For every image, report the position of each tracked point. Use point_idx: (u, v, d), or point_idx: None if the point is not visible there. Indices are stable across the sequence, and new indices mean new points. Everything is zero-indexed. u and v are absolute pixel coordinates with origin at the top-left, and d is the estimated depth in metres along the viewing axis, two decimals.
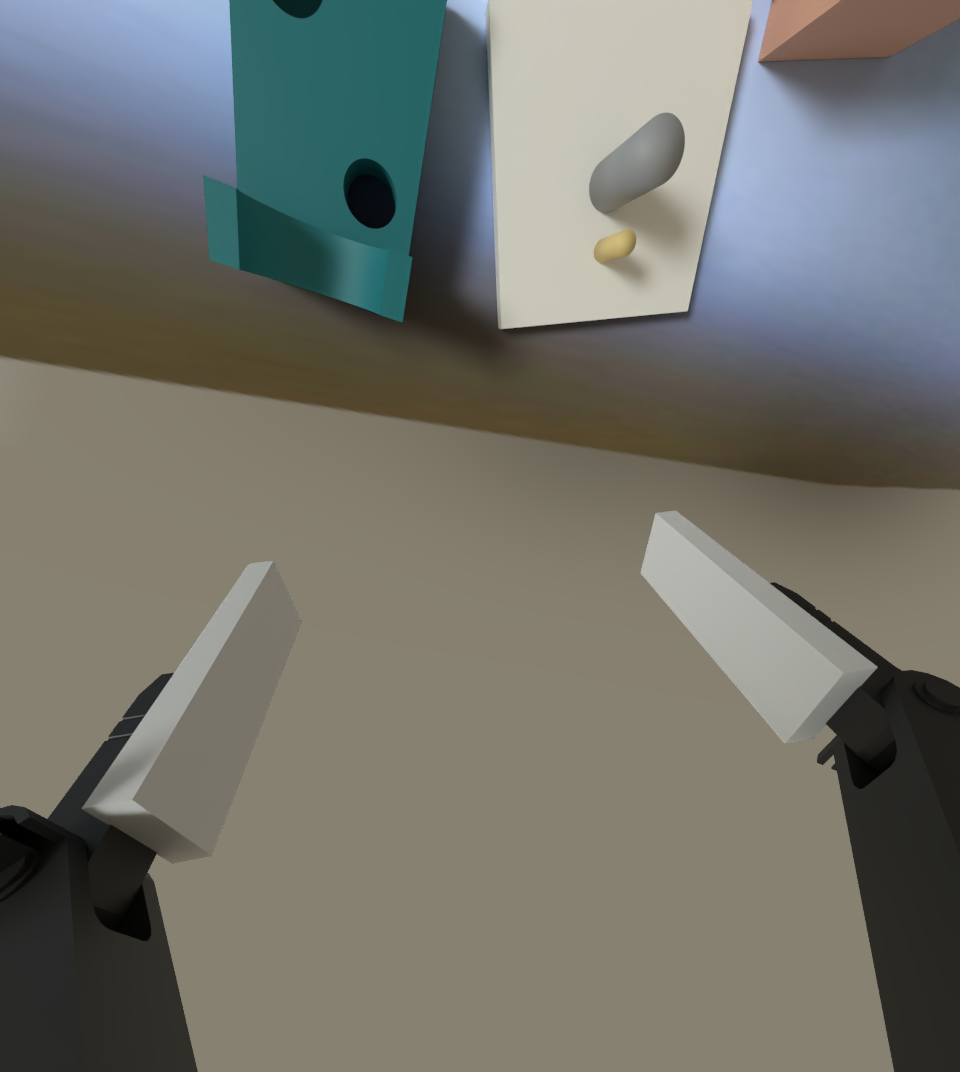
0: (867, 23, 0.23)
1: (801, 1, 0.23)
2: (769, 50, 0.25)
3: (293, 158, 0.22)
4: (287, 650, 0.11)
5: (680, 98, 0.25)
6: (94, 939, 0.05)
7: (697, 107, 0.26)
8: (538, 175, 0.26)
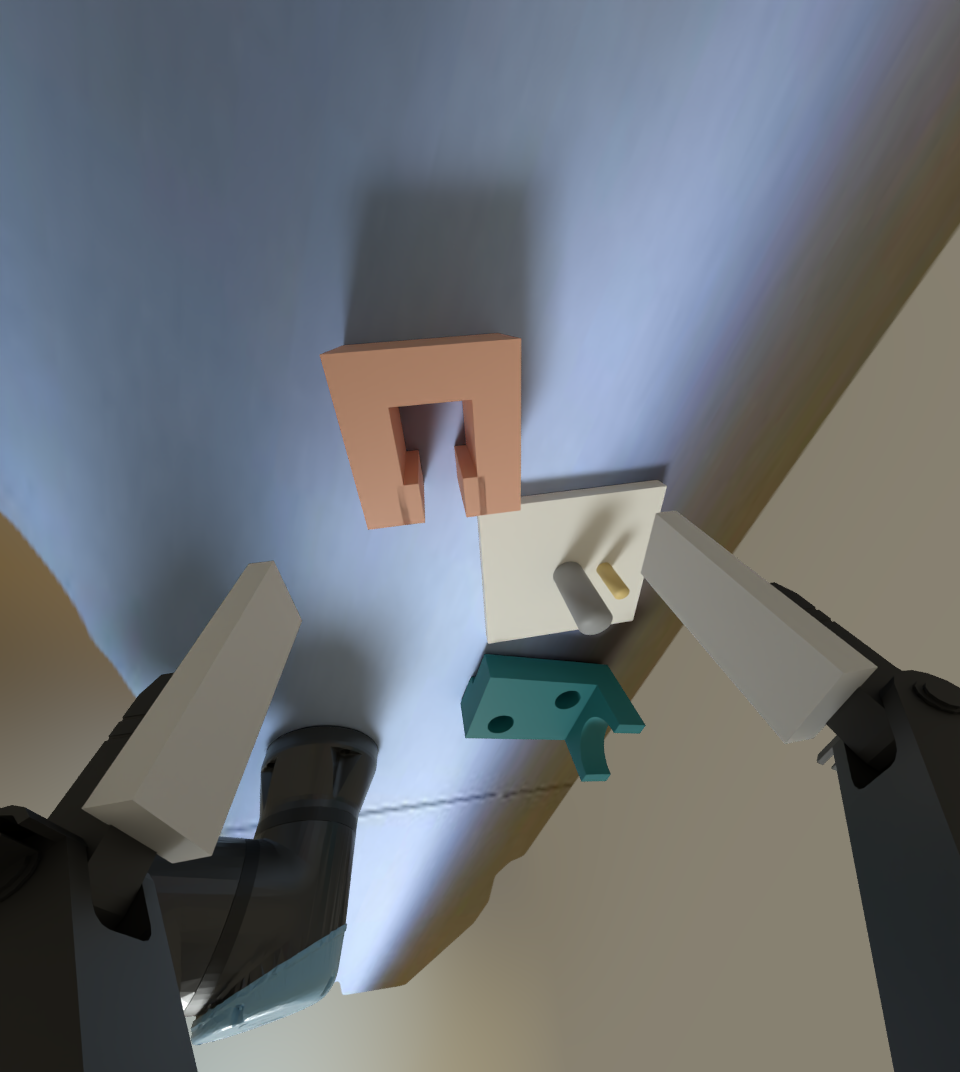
0: None
1: None
2: None
3: (553, 724, 0.46)
4: (287, 650, 0.11)
5: (527, 540, 0.34)
6: (94, 939, 0.05)
7: (533, 527, 0.33)
8: (557, 613, 0.40)
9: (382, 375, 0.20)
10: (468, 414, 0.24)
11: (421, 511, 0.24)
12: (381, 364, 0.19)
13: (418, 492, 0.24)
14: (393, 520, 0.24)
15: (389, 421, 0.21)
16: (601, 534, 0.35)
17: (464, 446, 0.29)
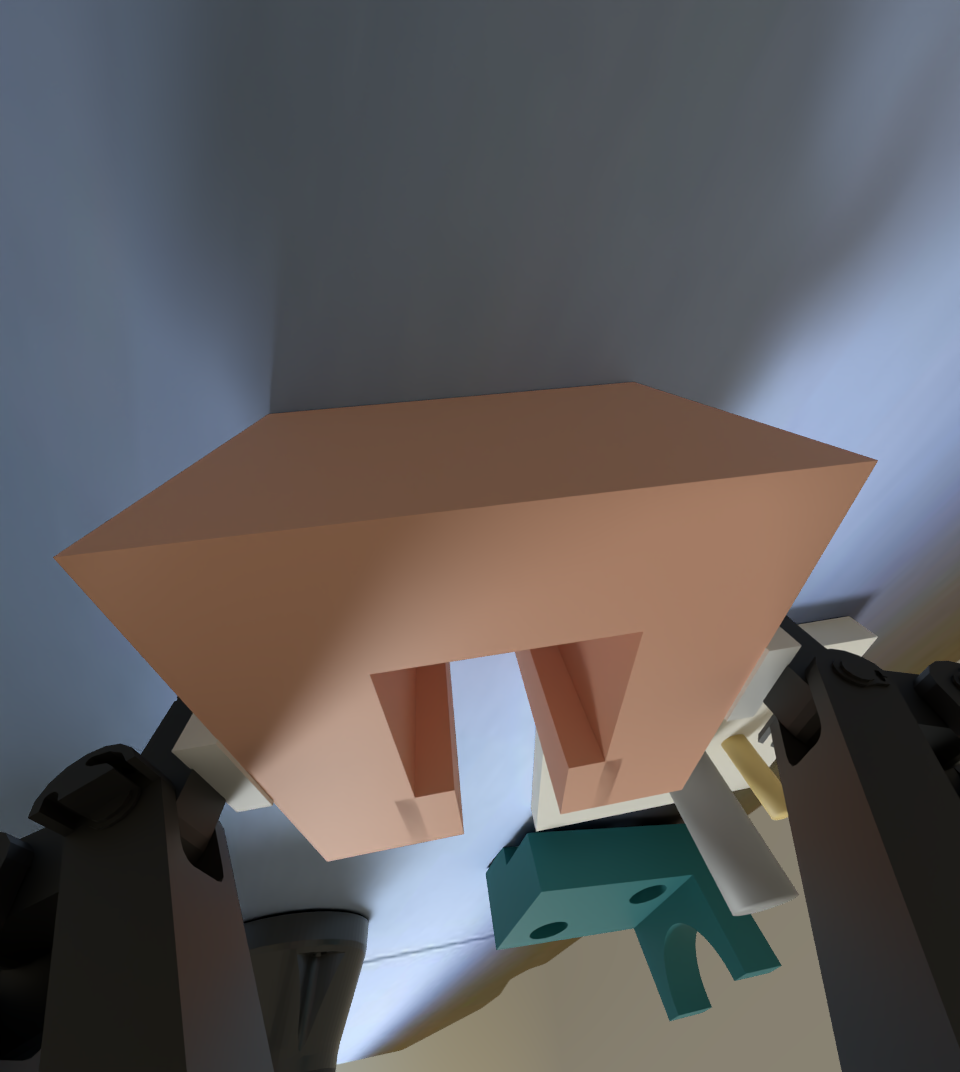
0: None
1: None
2: None
3: (622, 918, 0.32)
4: None
5: None
6: (183, 872, 0.05)
7: None
8: None
9: (345, 600, 0.05)
10: None
11: (457, 823, 0.10)
12: (339, 569, 0.05)
13: (453, 801, 0.09)
14: (388, 842, 0.10)
15: (375, 701, 0.06)
16: None
17: None
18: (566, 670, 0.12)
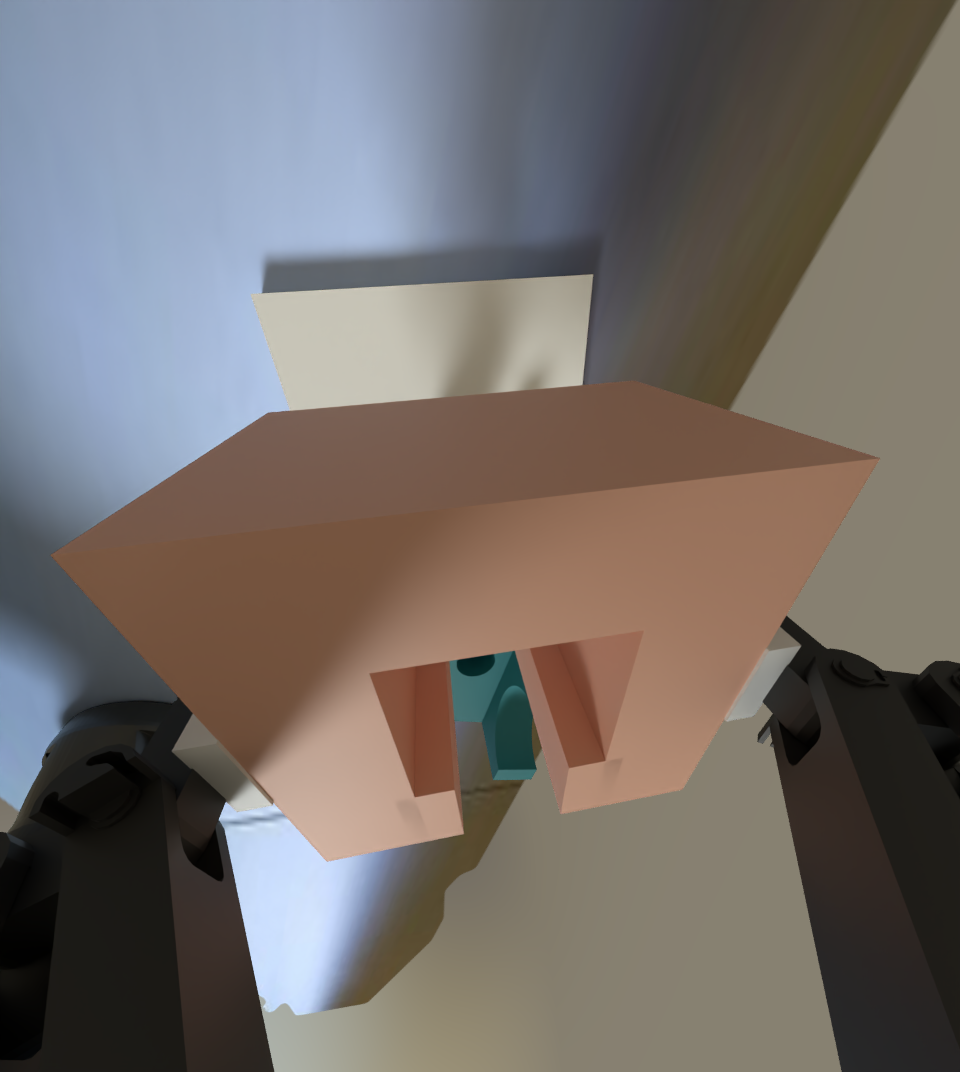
0: None
1: None
2: None
3: (460, 698, 0.32)
4: None
5: (363, 375, 0.20)
6: (183, 872, 0.05)
7: (366, 346, 0.19)
8: None
9: (344, 598, 0.05)
10: None
11: (457, 823, 0.10)
12: (338, 568, 0.05)
13: (453, 801, 0.09)
14: (388, 842, 0.10)
15: (374, 701, 0.06)
16: (492, 373, 0.21)
17: None
18: (566, 670, 0.12)
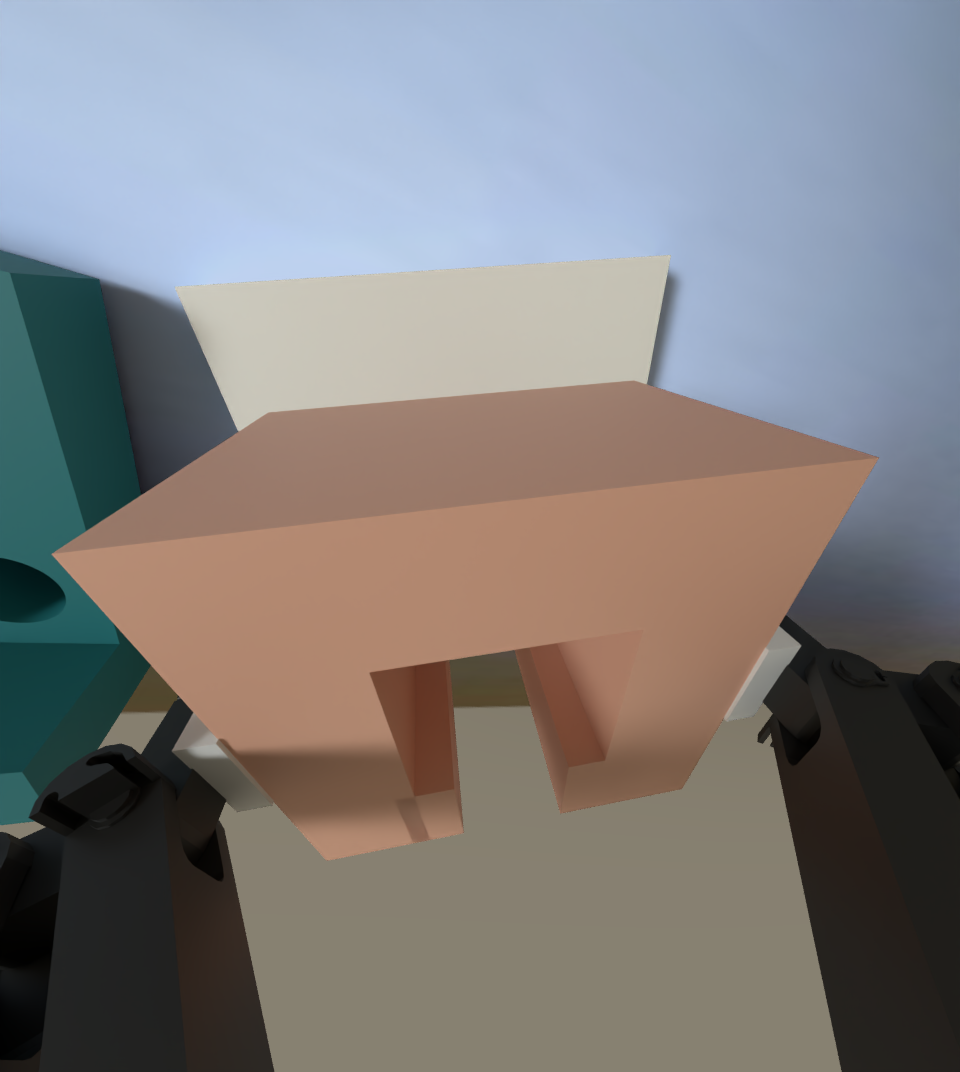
0: None
1: None
2: None
3: None
4: None
5: None
6: (183, 872, 0.05)
7: None
8: None
9: (344, 597, 0.05)
10: None
11: (457, 822, 0.10)
12: (338, 567, 0.05)
13: (453, 800, 0.09)
14: (388, 841, 0.10)
15: (374, 700, 0.06)
16: None
17: None
18: (566, 669, 0.12)
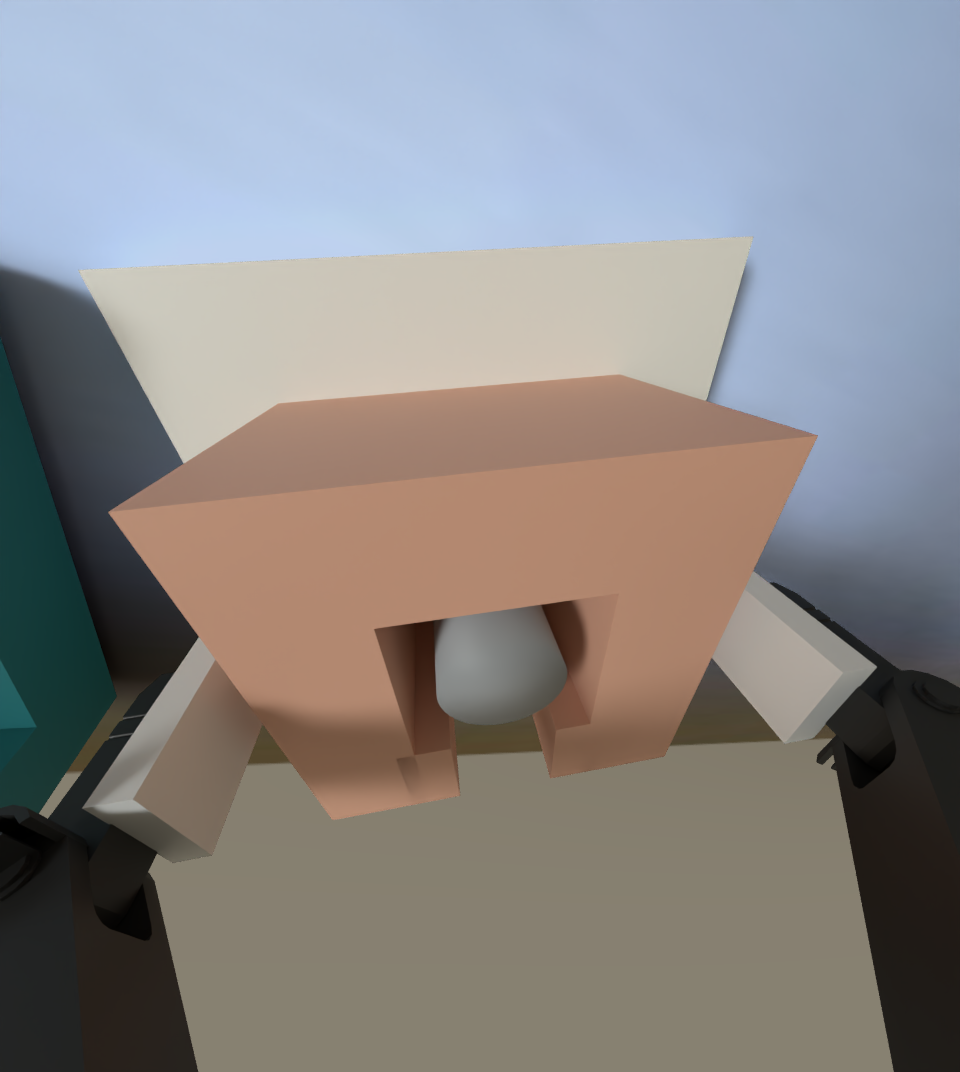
0: None
1: None
2: None
3: None
4: None
5: None
6: (95, 938, 0.05)
7: None
8: None
9: (353, 557, 0.06)
10: None
11: (454, 784, 0.11)
12: (348, 528, 0.06)
13: (449, 760, 0.10)
14: (390, 802, 0.11)
15: (378, 656, 0.07)
16: None
17: None
18: None
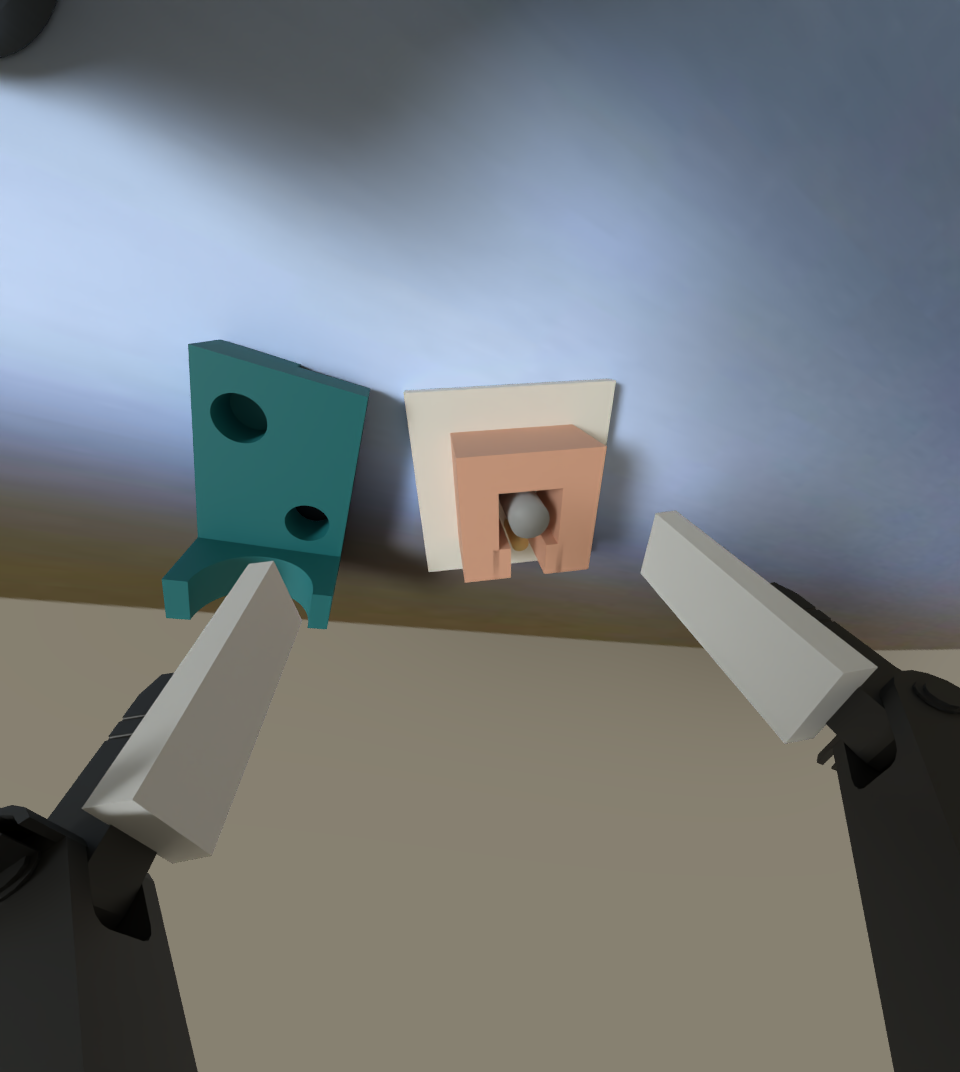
0: None
1: None
2: None
3: (243, 511, 0.28)
4: (287, 650, 0.11)
5: None
6: (94, 939, 0.05)
7: None
8: (452, 484, 0.33)
9: (498, 471, 0.25)
10: (550, 491, 0.30)
11: (509, 569, 0.30)
12: (499, 464, 0.25)
13: (509, 555, 0.29)
14: (486, 575, 0.30)
15: (497, 503, 0.26)
16: None
17: None
18: (547, 527, 0.31)
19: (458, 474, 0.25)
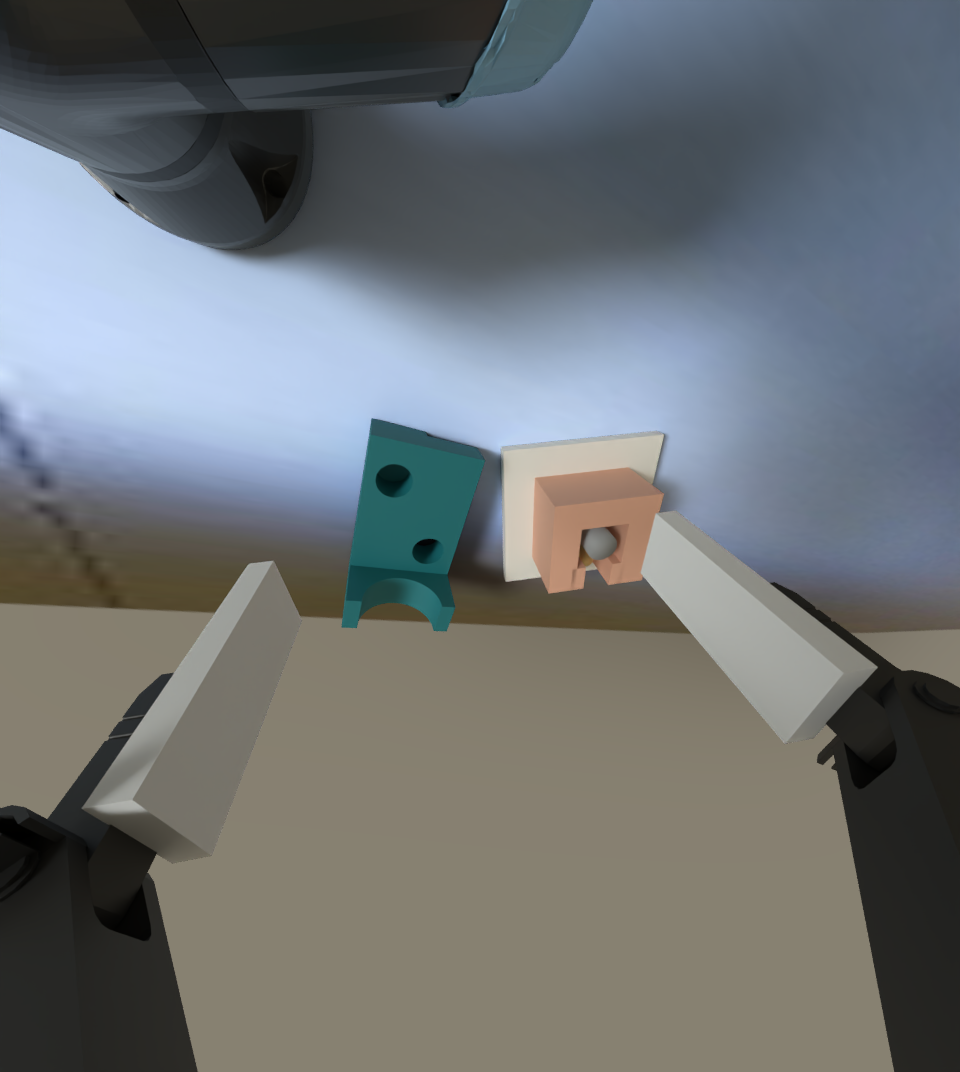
0: None
1: None
2: None
3: (384, 545, 0.37)
4: (287, 650, 0.11)
5: None
6: (94, 939, 0.05)
7: None
8: (531, 515, 0.41)
9: (584, 514, 0.34)
10: None
11: (582, 582, 0.39)
12: (585, 509, 0.34)
13: (584, 572, 0.38)
14: (565, 587, 0.39)
15: (580, 536, 0.35)
16: None
17: None
18: None
19: (555, 517, 0.34)
